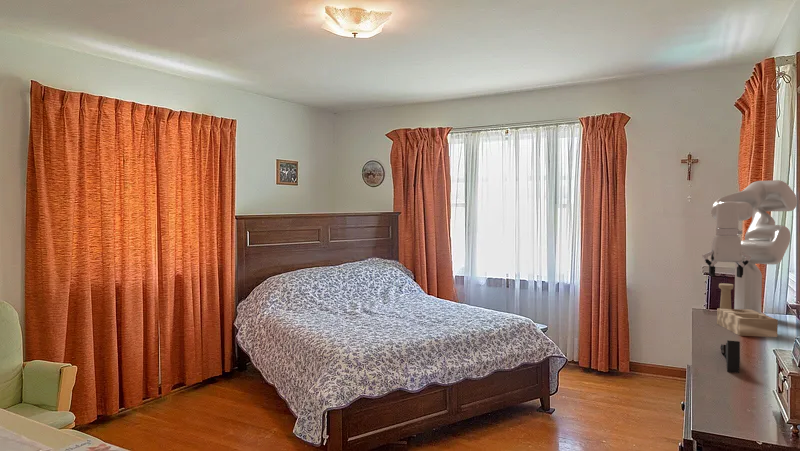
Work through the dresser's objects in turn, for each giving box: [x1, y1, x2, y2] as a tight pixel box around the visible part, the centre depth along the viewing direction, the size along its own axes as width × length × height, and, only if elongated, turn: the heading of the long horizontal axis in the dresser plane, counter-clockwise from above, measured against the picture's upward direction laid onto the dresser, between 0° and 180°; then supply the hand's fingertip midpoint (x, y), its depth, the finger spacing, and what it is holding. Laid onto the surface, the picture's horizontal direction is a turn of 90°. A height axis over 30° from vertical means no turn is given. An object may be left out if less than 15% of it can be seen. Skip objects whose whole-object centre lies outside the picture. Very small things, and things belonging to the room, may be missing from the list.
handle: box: [718, 282, 734, 309], centre depth 214 cm, size 5×6×15 cm
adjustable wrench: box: [720, 340, 741, 374], centre depth 157 cm, size 8×3×25 cm
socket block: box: [716, 308, 779, 338], centre depth 200 cm, size 20×12×6 cm, turn 170°
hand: (725, 276), depth 214 cm, fingers open, 9 cm apart
